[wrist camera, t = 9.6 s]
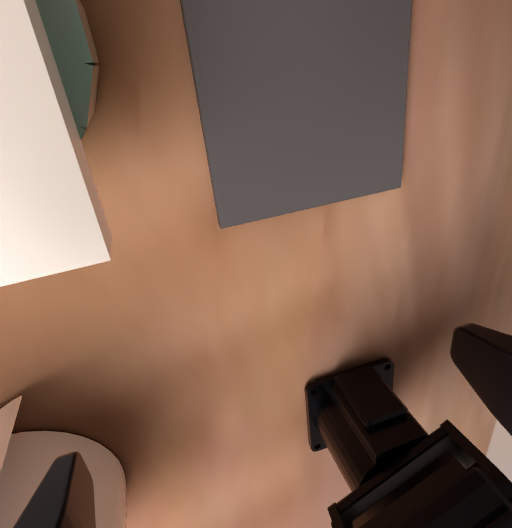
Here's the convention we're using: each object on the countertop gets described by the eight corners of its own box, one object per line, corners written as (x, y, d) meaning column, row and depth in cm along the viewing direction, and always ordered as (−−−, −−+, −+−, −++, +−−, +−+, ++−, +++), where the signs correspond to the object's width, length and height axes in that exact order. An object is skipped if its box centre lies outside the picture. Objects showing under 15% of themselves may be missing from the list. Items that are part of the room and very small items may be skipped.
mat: (395, 184, 22) (400, 187, 21) (219, 225, 20) (221, 228, 19) (416, -209, 15) (425, -216, 14) (143, -212, 13) (144, -221, 12)
